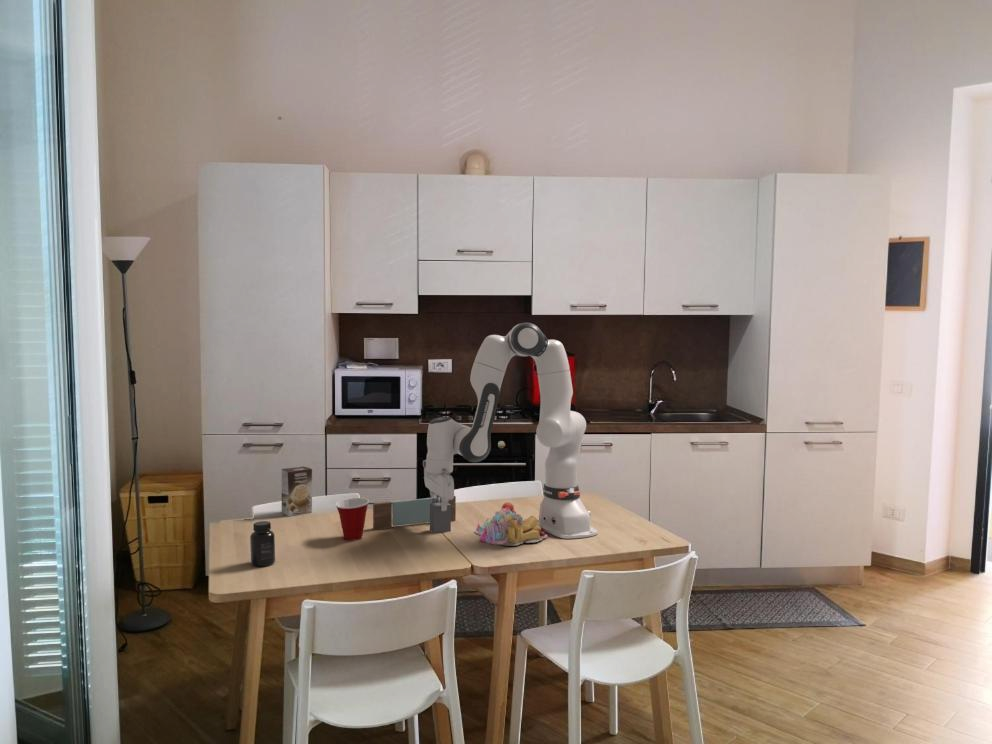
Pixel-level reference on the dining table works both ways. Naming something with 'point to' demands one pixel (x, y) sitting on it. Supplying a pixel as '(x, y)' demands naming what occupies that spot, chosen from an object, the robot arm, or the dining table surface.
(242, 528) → the dining table surface
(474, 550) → the dining table surface
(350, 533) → the plastic cup
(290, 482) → the coffee box
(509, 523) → the candy landscape model
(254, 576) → the dining table surface
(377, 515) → the wooden blocks
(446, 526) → the block
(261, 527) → the supplement bottle
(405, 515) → the door
